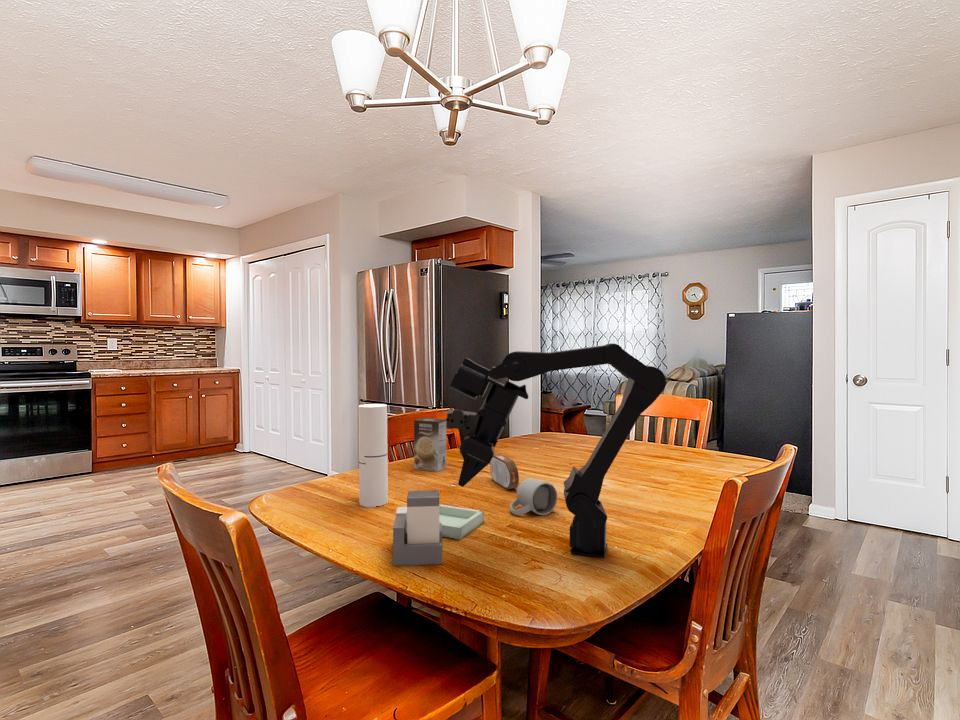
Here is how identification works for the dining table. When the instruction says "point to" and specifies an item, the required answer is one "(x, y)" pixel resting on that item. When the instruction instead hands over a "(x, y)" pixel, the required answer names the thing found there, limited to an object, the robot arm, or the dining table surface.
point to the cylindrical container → (373, 455)
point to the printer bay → (413, 545)
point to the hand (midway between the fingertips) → (463, 479)
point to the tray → (459, 521)
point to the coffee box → (430, 444)
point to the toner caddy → (423, 517)
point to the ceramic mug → (534, 497)
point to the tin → (504, 471)
